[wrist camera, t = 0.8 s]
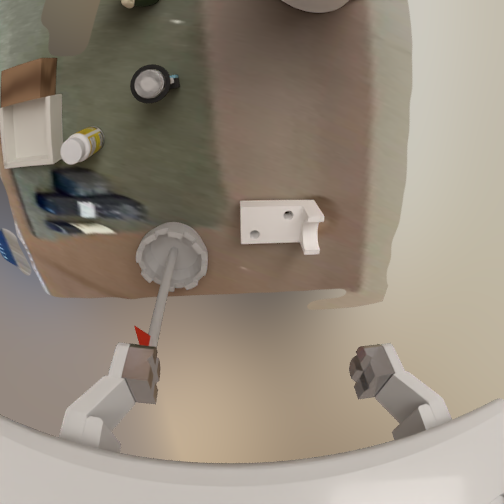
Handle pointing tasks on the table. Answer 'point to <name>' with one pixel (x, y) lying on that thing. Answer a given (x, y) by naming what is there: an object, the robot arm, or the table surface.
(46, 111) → the grey tray
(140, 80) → the push button
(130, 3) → the cream and green trophy
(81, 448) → the robot arm
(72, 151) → the supplement bottle
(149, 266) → the flag stand
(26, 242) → the table surface
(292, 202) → the bracket
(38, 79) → the walnut step
